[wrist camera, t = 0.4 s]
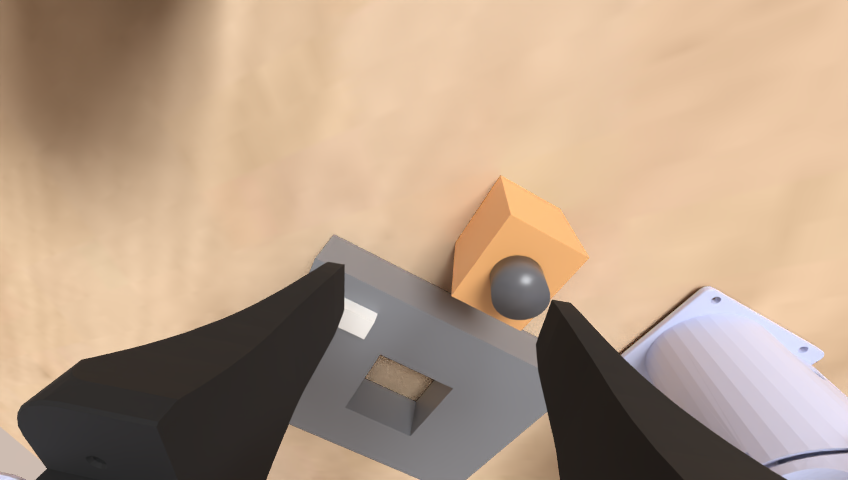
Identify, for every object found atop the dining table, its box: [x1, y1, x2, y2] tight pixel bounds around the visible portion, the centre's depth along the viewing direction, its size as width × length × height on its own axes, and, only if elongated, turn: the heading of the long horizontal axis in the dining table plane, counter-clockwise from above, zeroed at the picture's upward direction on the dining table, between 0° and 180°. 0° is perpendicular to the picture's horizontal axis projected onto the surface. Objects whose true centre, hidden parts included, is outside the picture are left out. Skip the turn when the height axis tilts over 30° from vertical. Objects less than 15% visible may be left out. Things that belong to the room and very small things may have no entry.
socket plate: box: [289, 235, 547, 480], centre depth 25 cm, size 18×16×4 cm
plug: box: [451, 175, 589, 331], centre depth 18 cm, size 4×5×7 cm
